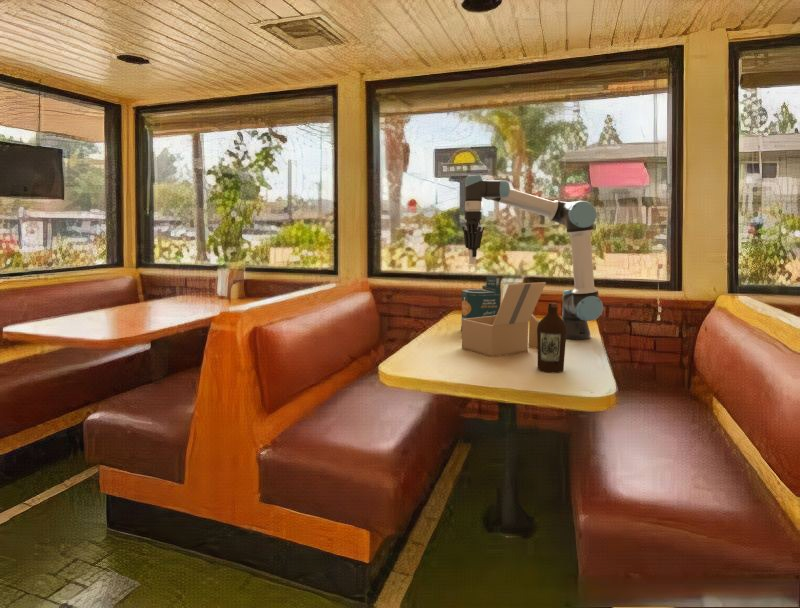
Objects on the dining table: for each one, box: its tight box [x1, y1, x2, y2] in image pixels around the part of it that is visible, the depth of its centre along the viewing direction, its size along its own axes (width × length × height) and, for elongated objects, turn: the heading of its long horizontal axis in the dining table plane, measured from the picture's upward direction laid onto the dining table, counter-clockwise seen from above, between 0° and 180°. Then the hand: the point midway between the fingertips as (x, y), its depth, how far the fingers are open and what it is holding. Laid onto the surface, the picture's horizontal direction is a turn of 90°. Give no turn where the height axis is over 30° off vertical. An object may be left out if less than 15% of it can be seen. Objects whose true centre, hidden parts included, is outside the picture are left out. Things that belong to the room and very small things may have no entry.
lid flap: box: [493, 281, 547, 326], centre depth 225 cm, size 20×20×1 cm
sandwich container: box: [528, 313, 541, 348], centre depth 247 cm, size 9×15×15 cm, turn 77°
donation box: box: [460, 275, 502, 332], centre depth 282 cm, size 16×16×28 cm
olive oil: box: [537, 302, 567, 373], centre depth 205 cm, size 11×11×25 cm
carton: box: [461, 316, 529, 357], centre depth 240 cm, size 20×20×13 cm
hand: (472, 264), depth 249 cm, fingers closed
